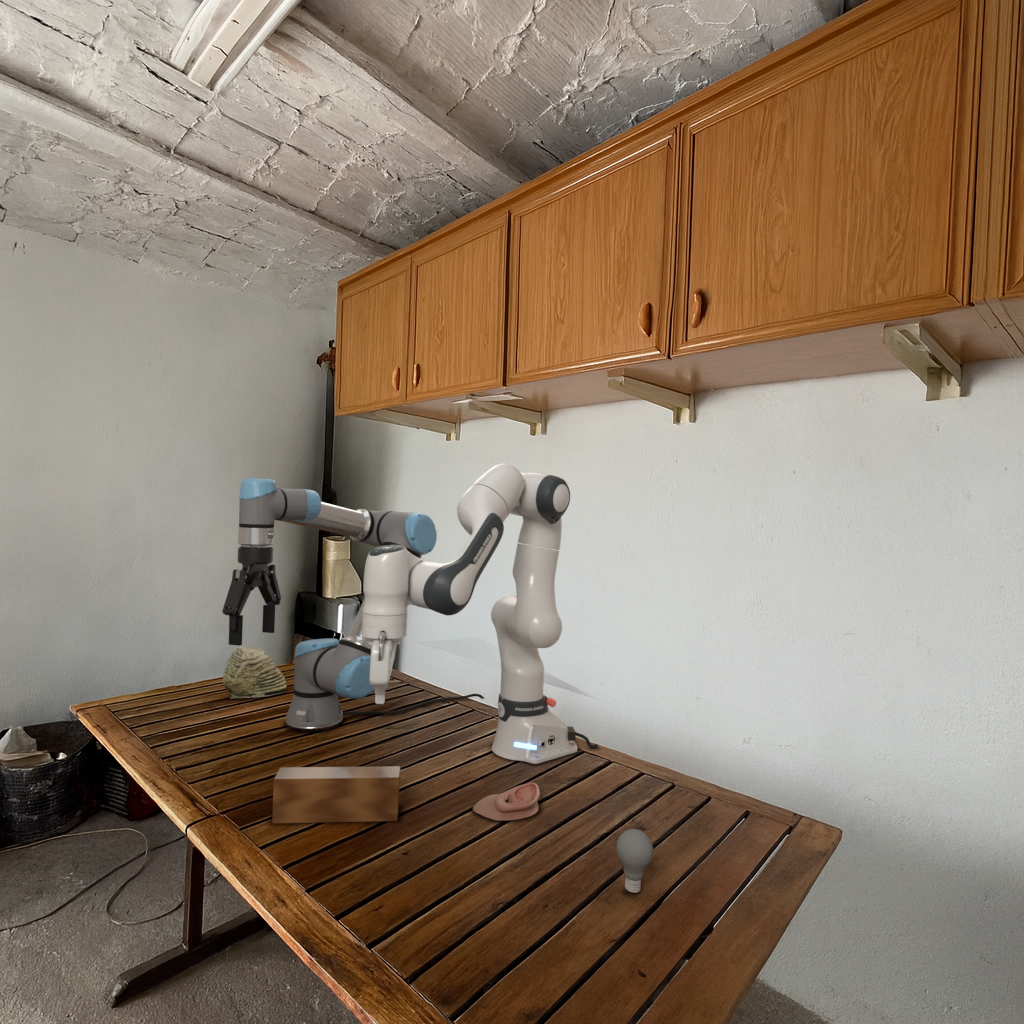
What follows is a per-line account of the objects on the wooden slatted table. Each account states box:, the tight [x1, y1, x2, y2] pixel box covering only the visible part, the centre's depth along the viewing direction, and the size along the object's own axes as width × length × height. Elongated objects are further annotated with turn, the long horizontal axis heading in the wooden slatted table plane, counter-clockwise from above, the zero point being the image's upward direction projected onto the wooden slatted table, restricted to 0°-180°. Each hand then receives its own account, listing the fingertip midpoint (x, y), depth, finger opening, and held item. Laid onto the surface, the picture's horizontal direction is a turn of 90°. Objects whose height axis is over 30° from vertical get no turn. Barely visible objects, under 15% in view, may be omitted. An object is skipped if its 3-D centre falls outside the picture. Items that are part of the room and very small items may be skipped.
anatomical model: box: [472, 782, 541, 822], centre depth 132 cm, size 13×4×12 cm
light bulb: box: [615, 828, 654, 894], centre depth 106 cm, size 6×6×10 cm
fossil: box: [222, 646, 288, 699], centre depth 198 cm, size 9×18×15 cm, turn 132°
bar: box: [271, 765, 401, 825], centre depth 126 cm, size 24×5×9 cm, turn 97°
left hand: (252, 638), depth 145 cm, fingers open, 13 cm apart
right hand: (381, 695), depth 127 cm, fingers open, 8 cm apart
